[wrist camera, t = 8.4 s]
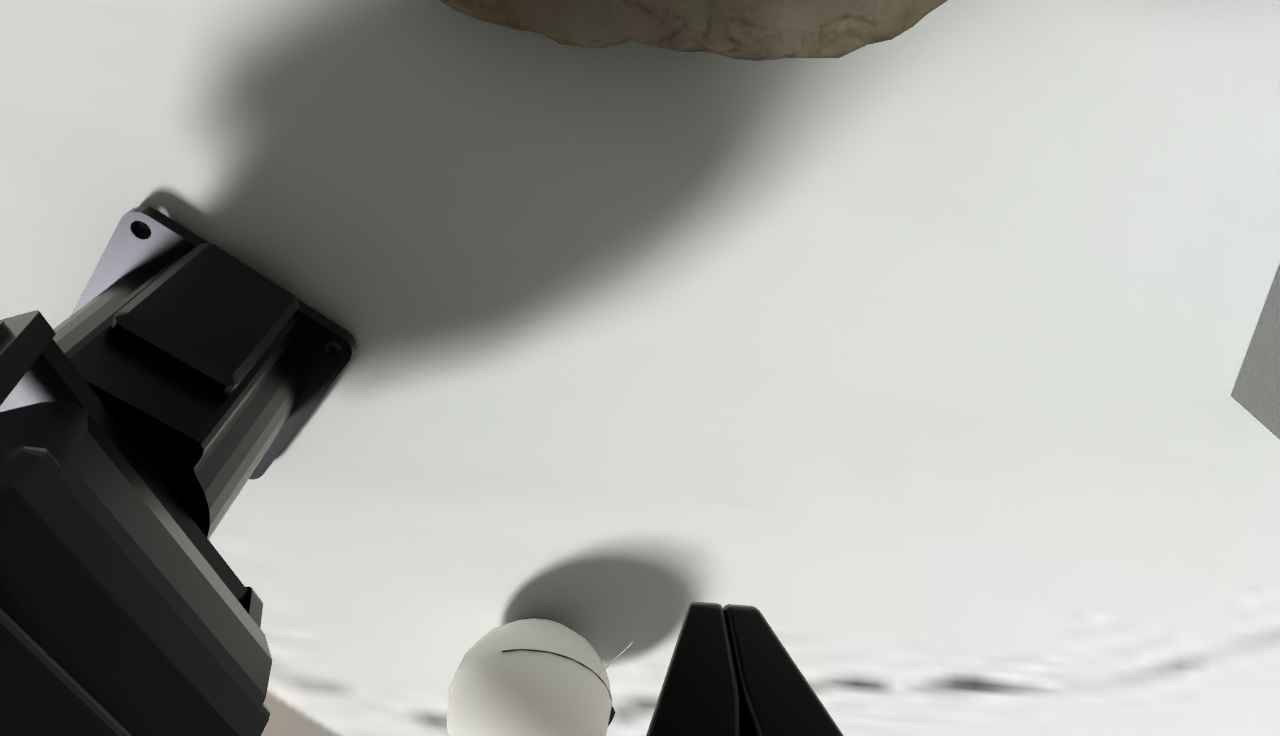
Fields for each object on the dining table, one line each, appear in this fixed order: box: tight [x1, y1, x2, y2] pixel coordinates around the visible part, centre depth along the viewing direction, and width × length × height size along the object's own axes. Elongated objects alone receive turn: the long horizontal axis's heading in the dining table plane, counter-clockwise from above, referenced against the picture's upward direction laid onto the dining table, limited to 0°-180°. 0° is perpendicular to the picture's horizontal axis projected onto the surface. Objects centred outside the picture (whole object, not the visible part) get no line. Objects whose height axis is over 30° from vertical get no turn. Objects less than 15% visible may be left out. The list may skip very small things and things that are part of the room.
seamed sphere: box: [447, 618, 633, 736], centre depth 27 cm, size 8×6×6 cm
